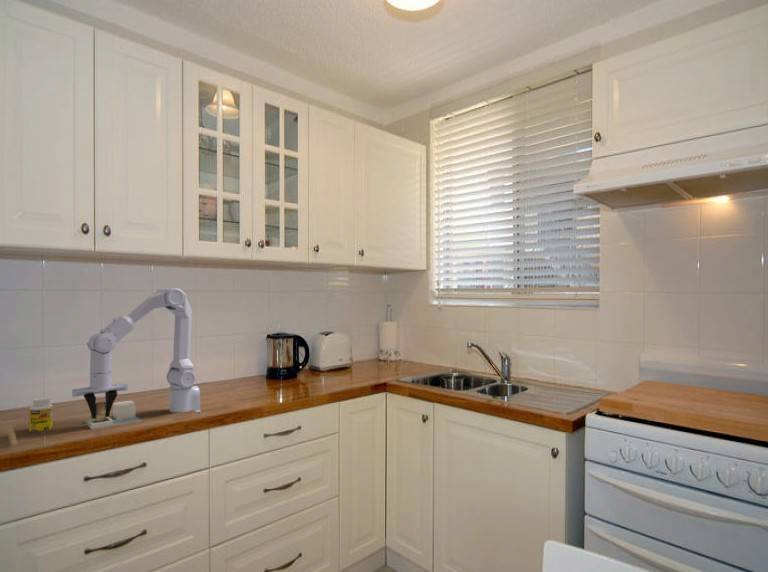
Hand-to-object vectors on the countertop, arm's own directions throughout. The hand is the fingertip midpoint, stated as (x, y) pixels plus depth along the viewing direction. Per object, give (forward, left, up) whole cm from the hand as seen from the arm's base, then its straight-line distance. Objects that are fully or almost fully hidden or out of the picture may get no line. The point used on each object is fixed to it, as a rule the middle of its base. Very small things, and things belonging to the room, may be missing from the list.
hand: (100, 416), depth 141 cm
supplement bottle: (+14, -7, -4) cm, 16 cm away
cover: (-8, -7, -3) cm, 11 cm away
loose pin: (0, 0, -2) cm, 2 cm away
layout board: (-4, -3, -4) cm, 6 cm away
